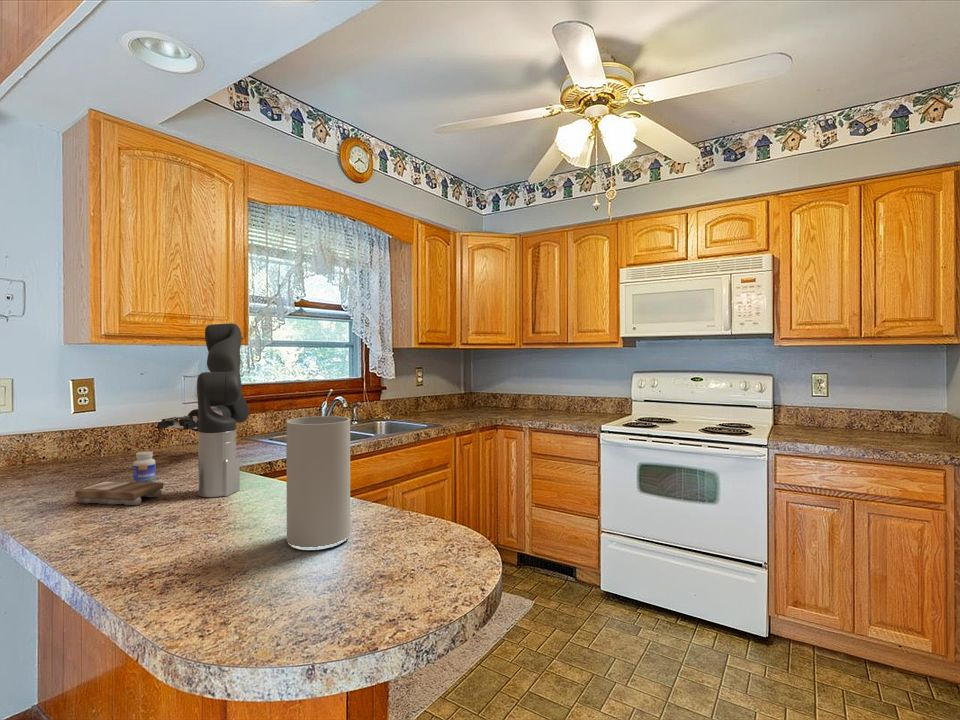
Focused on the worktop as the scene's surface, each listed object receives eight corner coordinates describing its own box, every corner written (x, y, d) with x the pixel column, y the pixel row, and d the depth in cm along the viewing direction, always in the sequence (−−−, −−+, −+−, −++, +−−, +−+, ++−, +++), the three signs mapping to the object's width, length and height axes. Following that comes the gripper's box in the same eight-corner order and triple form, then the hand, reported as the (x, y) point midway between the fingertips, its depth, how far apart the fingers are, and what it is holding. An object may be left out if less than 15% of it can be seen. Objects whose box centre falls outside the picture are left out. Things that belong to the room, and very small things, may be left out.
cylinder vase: (286, 533, 108) (286, 417, 107) (346, 526, 112) (346, 415, 112) (286, 556, 96) (286, 425, 96) (353, 547, 100) (353, 422, 100)
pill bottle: (137, 490, 141) (137, 455, 141) (130, 486, 144) (129, 452, 144) (158, 485, 145) (158, 452, 145) (151, 482, 148) (151, 450, 148)
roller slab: (163, 495, 135) (162, 481, 135) (133, 507, 126) (133, 492, 125) (108, 493, 137) (108, 480, 137) (75, 504, 127) (75, 490, 127)
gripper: (185, 407, 172) (150, 413, 156) (224, 408, 171) (193, 414, 155) (185, 428, 173) (150, 437, 156) (225, 430, 171) (193, 439, 155)
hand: (171, 426), depth 156 cm, fingers open, 8 cm apart
